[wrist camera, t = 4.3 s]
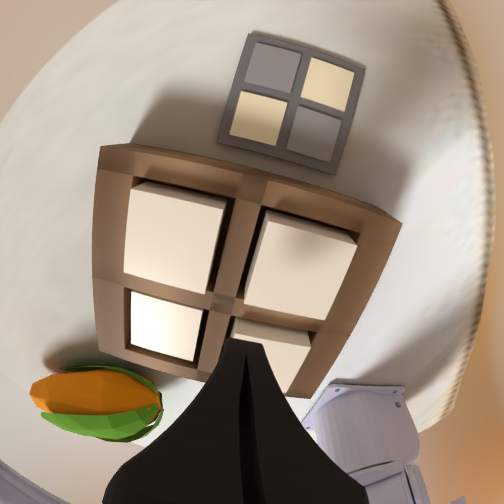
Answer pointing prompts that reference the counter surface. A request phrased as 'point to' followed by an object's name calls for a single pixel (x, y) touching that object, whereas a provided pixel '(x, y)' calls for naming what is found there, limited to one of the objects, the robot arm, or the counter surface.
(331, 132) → the card
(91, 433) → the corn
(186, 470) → the robot arm
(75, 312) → the counter surface
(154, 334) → the button
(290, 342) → the button
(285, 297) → the button
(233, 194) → the button board
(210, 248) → the button
